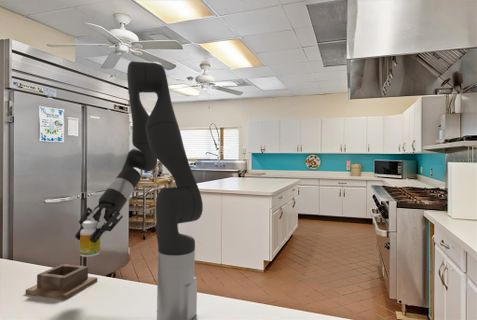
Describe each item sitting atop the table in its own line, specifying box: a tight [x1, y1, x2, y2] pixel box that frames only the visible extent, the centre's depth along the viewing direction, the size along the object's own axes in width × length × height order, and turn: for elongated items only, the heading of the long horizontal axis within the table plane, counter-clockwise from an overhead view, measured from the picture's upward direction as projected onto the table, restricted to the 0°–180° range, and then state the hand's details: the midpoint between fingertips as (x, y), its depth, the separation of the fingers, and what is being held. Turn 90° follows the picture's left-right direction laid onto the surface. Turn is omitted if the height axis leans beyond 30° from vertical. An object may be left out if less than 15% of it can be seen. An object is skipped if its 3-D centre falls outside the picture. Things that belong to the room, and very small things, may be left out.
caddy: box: [25, 263, 98, 300], centre depth 91 cm, size 14×13×5 cm
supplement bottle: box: [79, 220, 101, 258], centre depth 87 cm, size 5×5×10 cm
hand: (84, 239), depth 86 cm, fingers closed on supplement bottle, 5 cm apart
